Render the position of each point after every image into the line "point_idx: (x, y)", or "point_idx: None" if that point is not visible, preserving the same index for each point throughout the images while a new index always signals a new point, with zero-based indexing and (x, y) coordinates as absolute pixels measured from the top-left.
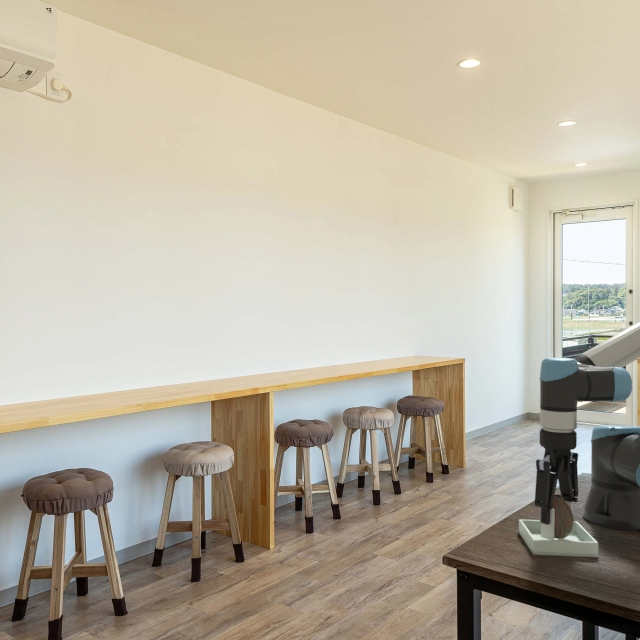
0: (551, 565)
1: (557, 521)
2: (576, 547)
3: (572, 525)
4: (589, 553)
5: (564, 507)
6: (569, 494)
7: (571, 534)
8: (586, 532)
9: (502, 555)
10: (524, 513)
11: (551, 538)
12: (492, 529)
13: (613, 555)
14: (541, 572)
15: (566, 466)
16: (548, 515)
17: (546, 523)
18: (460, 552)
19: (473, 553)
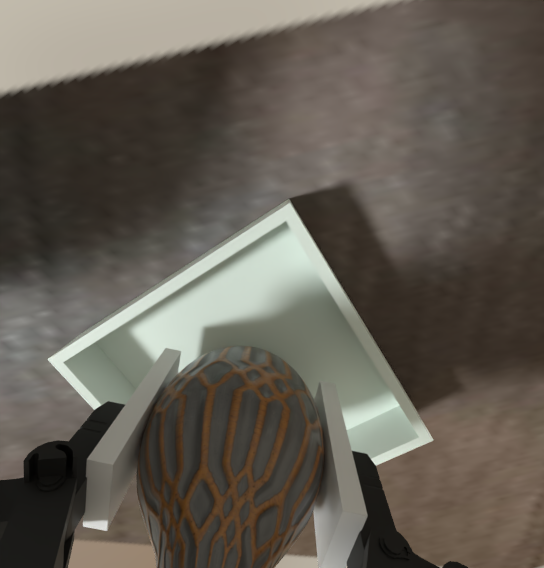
0: (482, 324)
1: (320, 430)
2: (340, 285)
3: (241, 357)
4: (308, 231)
5: (258, 473)
6: (63, 536)
7: (126, 346)
8: (172, 288)
9: (472, 470)
10: None
11: (335, 392)
12: None
13: (218, 146)
14: None
15: None
16: (369, 497)
17: (371, 463)
18: (512, 559)
19: (501, 533)
